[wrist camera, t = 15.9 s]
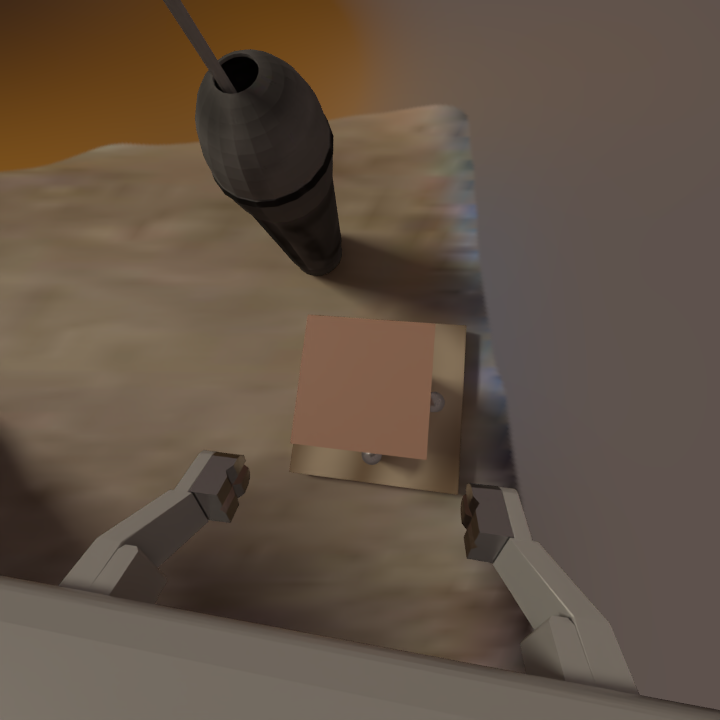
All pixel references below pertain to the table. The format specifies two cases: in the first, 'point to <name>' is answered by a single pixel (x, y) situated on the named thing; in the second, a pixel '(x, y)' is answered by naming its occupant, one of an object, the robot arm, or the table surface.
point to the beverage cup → (269, 148)
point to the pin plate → (442, 433)
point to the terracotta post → (365, 386)
